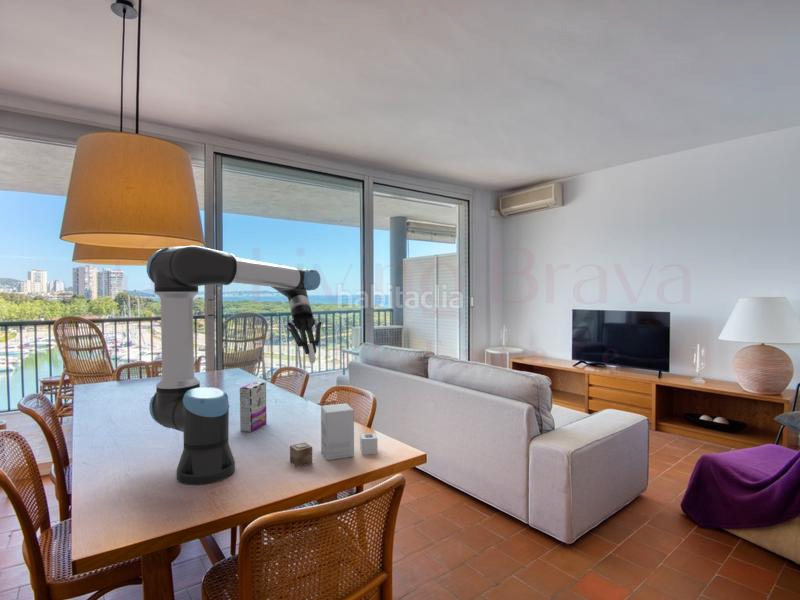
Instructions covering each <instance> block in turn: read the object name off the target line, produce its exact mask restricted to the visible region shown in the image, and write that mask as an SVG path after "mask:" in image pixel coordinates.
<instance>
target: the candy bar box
mask: <svg viewBox="0 0 800 600" xmlns="http://www.w3.org/2000/svg"><path fill="white" fill-rule="evenodd" d="M239 412H240V413H239V415H240V416H239V417H240V423H239V425H240V427H239V428H240V429H239V430H240V432H243V431H247V432H246V433H253V432H254V431H256V430H257V429H259V428H261V427H262V426H264V425H266V424H267V382H266V381H254V382H251V383H249V384H246V385H244V386H241V387H240V388H239Z"/></svg>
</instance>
